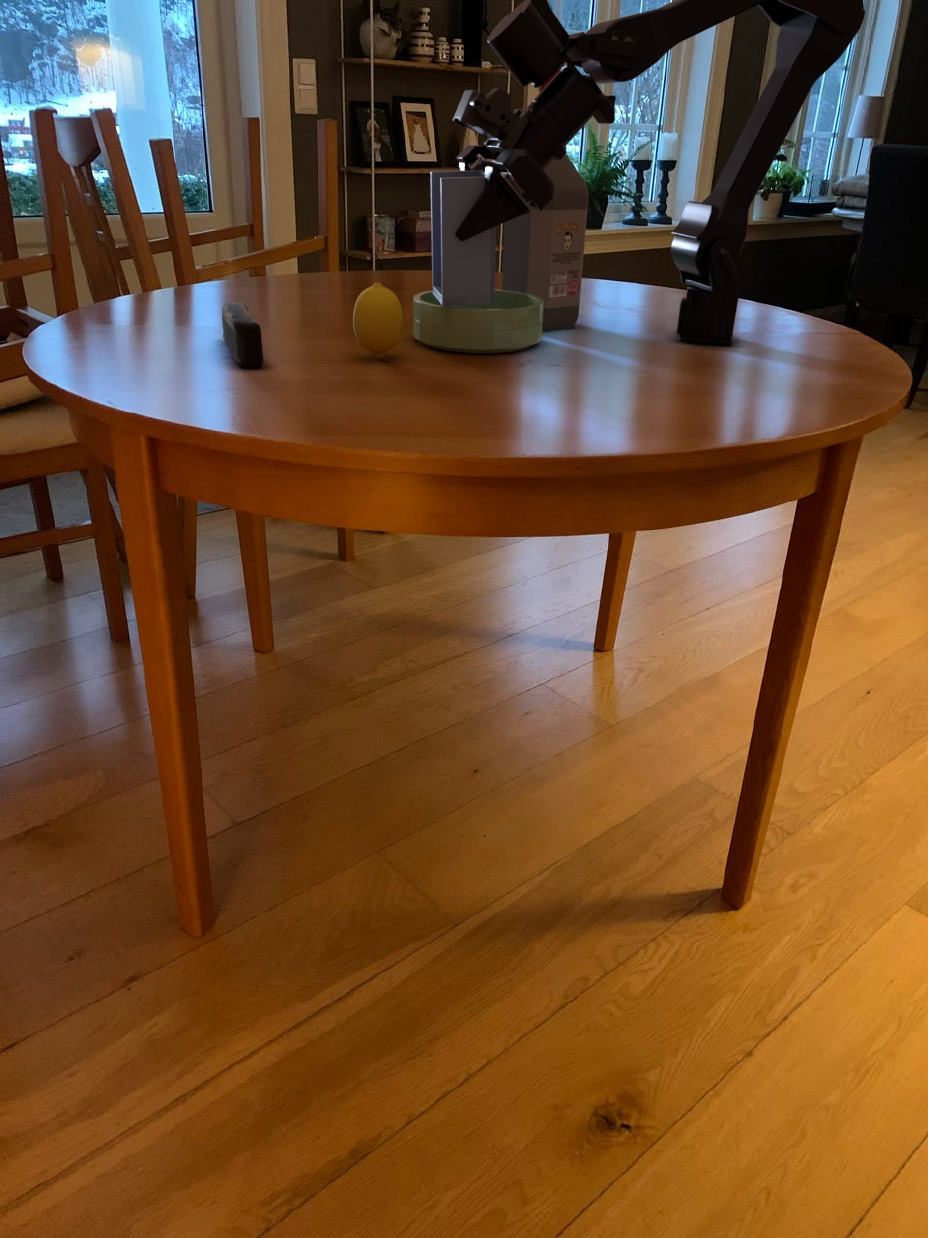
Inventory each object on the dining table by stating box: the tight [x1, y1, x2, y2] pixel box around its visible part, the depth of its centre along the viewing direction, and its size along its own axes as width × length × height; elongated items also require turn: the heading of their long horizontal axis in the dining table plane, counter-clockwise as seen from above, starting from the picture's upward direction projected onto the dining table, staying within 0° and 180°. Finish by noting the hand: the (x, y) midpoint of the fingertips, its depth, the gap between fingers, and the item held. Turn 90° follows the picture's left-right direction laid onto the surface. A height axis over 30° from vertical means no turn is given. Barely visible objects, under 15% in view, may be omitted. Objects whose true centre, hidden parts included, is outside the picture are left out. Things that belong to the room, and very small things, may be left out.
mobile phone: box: [221, 301, 264, 368], centre depth 99 cm, size 5×3×15 cm
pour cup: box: [430, 170, 497, 306], centre depth 100 cm, size 6×6×13 cm
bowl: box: [412, 288, 544, 354], centre depth 109 cm, size 16×16×5 cm
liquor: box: [501, 68, 590, 332], centre depth 113 cm, size 9×9×30 cm
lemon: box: [352, 282, 404, 359], centre depth 99 cm, size 6×6×8 cm
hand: (449, 234), depth 100 cm, fingers closed on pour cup, 7 cm apart
